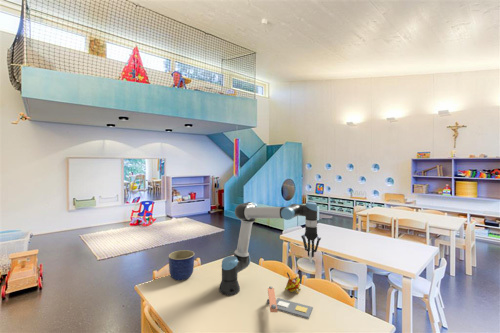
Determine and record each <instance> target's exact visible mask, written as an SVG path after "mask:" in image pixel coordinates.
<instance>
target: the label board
mask: <svg viewBox="0 0 500 333" xmlns="http://www.w3.org/2000/svg"><path fill="white" fill-rule="evenodd" d="M276 304H277V311H279V312H284V313H287V314H291V315H294V316H297V317H300V318H304V319H310V317H311V314H312V312H313V311H314V310H313V309H314V307H313V306H310V305H307V304H302V303H299V302H295V301H291V300H288V299H287V300H286V299H283V298H280V297H277V299H276Z"/></svg>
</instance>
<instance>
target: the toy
mask: <svg viewBox="0 0 500 333" xmlns="http://www.w3.org/2000/svg"><path fill="white" fill-rule="evenodd" d="M286 275H287V277H288V279H287V282H286V286H285V288H284V290H287V291H288V292H289V293H292V292H295V293H296V294H297V295H298V294H300V292H299V291H301V288H300V287H301V284H300V283H301V278H299V277H298V276H296V277H295V278H294V277H290V274H289V272H286Z"/></svg>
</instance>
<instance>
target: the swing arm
mask: <svg viewBox="0 0 500 333" xmlns="http://www.w3.org/2000/svg"><path fill="white" fill-rule="evenodd" d="M275 293H276V292H275V288H273V286H268V288H267V295H268V299H269V304H268V305H269V311H270V313H278V310H277V304H276V300H277V299H276V294H275Z"/></svg>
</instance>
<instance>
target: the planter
mask: <svg viewBox="0 0 500 333" xmlns="http://www.w3.org/2000/svg"><path fill="white" fill-rule="evenodd" d="M195 255H196V254H195V252H194V251H192V250H187V249H182V250H176V251H172V252H171V253H169V254H168V268H169V269H168V271H169V276H170V277H171V278H172V279H173V280H175V281H178V282H179V281H180V282H181V281H185V280H188V279H190V277H191V276H193V272H194V269H195V266H194V264H195Z"/></svg>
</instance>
